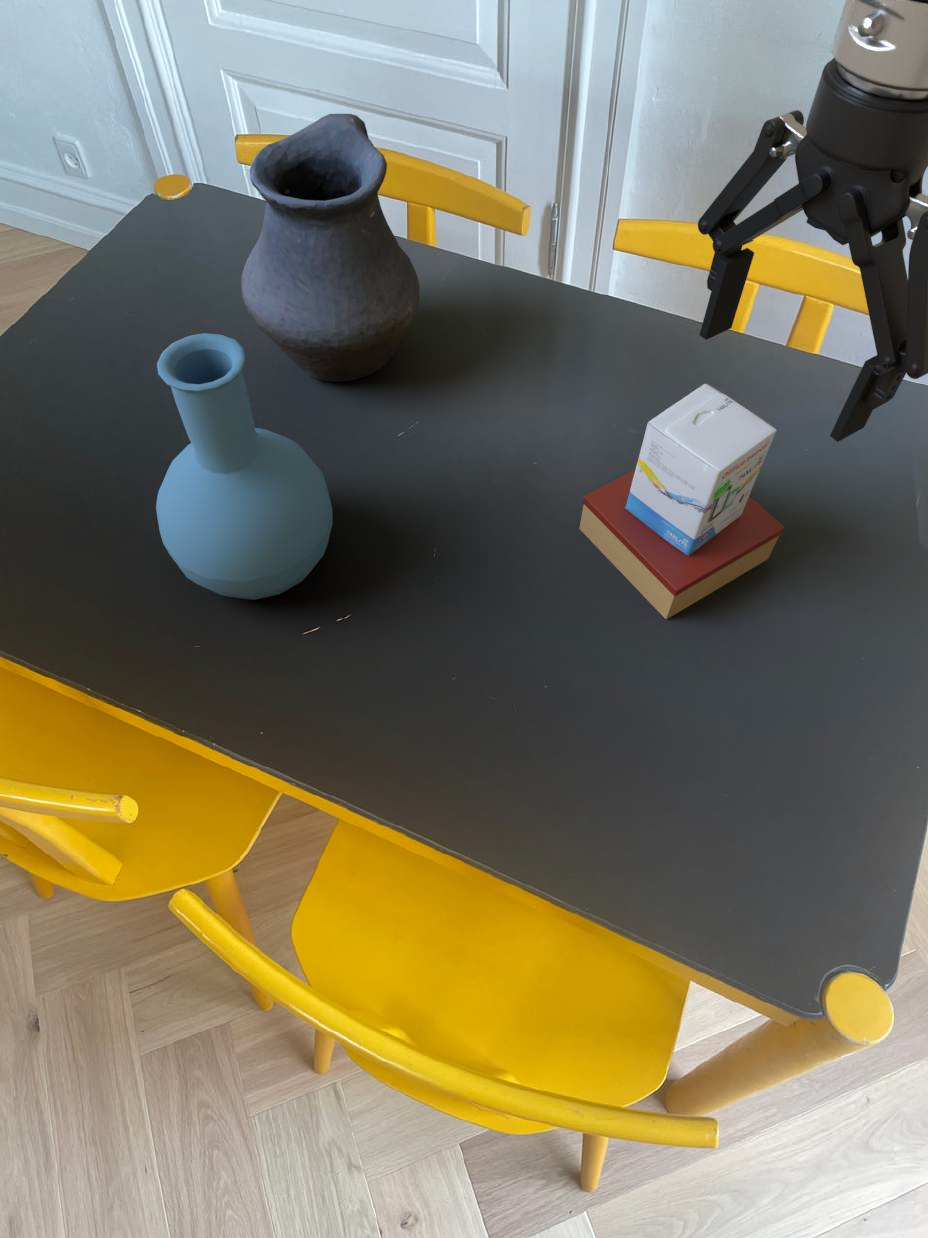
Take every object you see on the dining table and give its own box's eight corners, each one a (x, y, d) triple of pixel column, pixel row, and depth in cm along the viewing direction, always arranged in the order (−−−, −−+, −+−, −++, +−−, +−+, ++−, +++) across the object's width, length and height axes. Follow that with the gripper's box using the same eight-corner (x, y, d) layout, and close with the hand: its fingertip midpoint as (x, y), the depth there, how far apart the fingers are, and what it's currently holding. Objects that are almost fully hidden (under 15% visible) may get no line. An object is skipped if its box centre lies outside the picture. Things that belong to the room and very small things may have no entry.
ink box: (688, 558, 82) (718, 473, 73) (622, 508, 86) (644, 420, 76) (743, 515, 86) (780, 427, 76) (678, 468, 89) (706, 378, 80)
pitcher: (232, 395, 102) (176, 191, 82) (294, 288, 114) (259, 86, 94) (397, 424, 100) (383, 221, 79) (444, 311, 112) (441, 109, 91)
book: (769, 559, 89) (785, 527, 85) (665, 621, 84) (676, 590, 80) (678, 475, 96) (688, 442, 91) (577, 528, 91) (583, 496, 87)
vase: (364, 518, 92) (337, 318, 71) (301, 641, 83) (250, 454, 62) (223, 482, 94) (159, 280, 74) (148, 598, 85) (51, 405, 65)
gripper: (691, 5, 52) (632, 310, 69) (1054, 190, 40) (872, 502, 57) (780, -21, 54) (701, 280, 72) (1147, 146, 42) (946, 458, 60)
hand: (777, 379), depth 65 cm, fingers open, 13 cm apart
